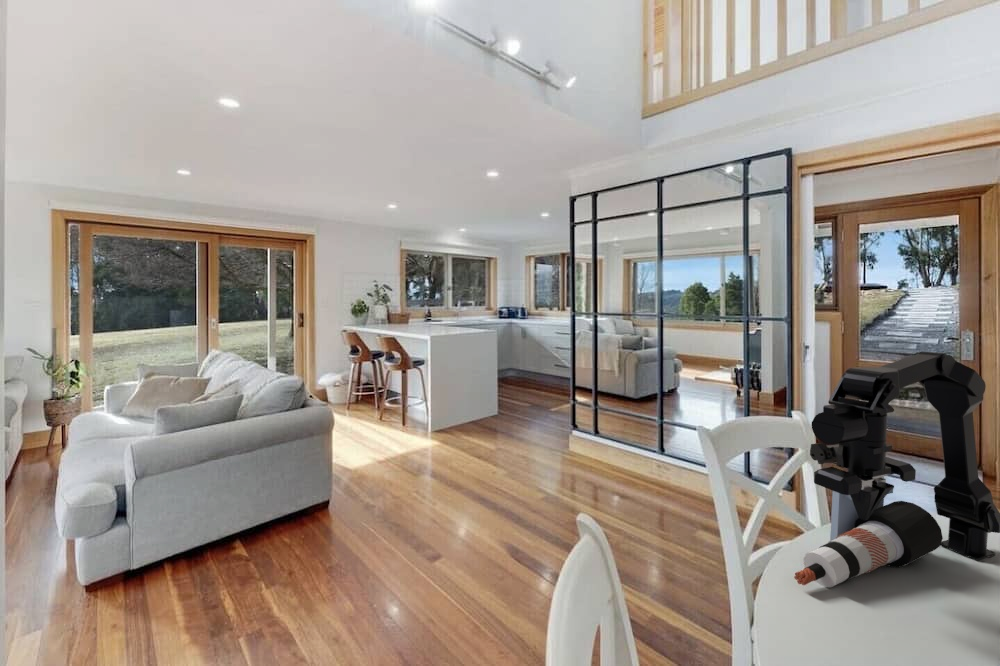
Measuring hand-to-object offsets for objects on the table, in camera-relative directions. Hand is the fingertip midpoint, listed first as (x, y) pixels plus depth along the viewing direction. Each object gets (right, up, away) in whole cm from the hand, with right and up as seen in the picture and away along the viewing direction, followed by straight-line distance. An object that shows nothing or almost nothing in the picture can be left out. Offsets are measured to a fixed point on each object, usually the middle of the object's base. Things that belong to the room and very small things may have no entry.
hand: (863, 518), depth 85 cm
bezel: (+10, -11, +13) cm, 20 cm away
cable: (+3, -12, +5) cm, 14 cm away
